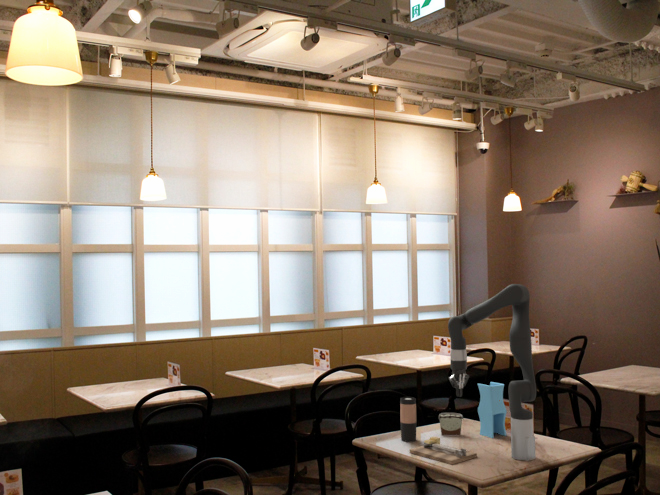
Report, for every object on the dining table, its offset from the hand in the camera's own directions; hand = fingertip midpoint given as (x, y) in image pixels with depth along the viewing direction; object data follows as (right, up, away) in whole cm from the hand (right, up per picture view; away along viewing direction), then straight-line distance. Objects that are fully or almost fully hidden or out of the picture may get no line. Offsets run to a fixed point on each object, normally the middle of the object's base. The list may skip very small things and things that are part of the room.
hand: (459, 396), depth 304 cm
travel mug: (-22, -24, +12) cm, 35 cm away
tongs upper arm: (-10, -20, -15) cm, 27 cm away
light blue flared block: (+20, -24, +20) cm, 37 cm away
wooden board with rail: (-10, -23, -15) cm, 29 cm away
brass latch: (-14, -21, -9) cm, 27 cm away
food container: (0, -24, +23) cm, 33 cm away
